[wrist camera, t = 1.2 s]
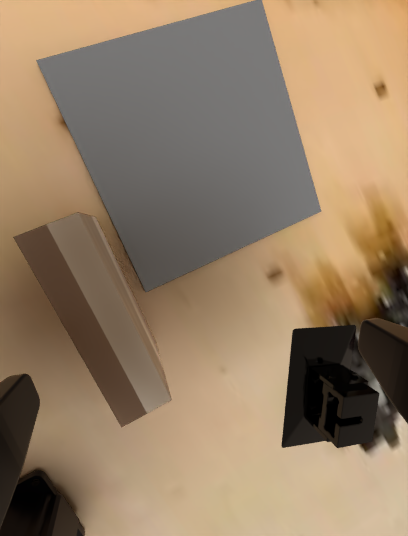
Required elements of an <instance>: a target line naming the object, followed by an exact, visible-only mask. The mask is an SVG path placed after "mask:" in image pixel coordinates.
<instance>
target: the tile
mask: <svg viewBox="0 0 408 536" xmlns="http://www.w3.org/2000/svg"><path fill="white" fill-rule="evenodd" d="M13 238H14V239H15V241H16V243H17V245H18V246H19V248H20V250H21V252H22V253H23V255H24V257H25V259H26V260H27V262H28V264H29V266H30V267H31V269H32V271H33V273H34V274H35V276H36V278H37V280H38V281H39V283H40V285H41V287H42V288H43V290H44V292H45V294H46V295H47V297H48V299H49V301H50V303H51V304H52V306H53V308H54V310H55V311H56V313H57V315H58V317H59V318H60V320H61V322H62V324H63V325H64V327H65V329H66V331H67V332H68V334H69V336H70V338H71V339H72V341H73V343H74V345H75V346H76V348H77V350H78V352H79V353H80V355H81V357H82V359H83V360H84V362H85V364H86V366H87V368H88V369H89V371H90V373H91V375H92V376H93V378H94V380H95V382H96V383H97V385H98V387H99V389H100V390H101V392H102V394H103V396H104V397H105V399H106V401H107V403H108V404H109V406H110V408H111V410H112V411H113V413H114V415H115V417H116V418H117V420H118V422H119V424H120V425H121V427H123V426H125V425H127V424H129V423H131V422H132V421H134V420H136V419H138V418H140V417H142V416H143V415H145V414H147V413H149V412H151V411H152V410H154V409H156V408H158V407H160V406H162V405H163V404H165V403H167V402H169V401H171V400H172V399H171V396H170V392H169V388H168V385H167V381H166V377H165V374H164V370H163V366H162V362H161V359H160V355H159V351H158V348H157V344H156V340H155V338H154V336H153V334H152V332H151V330H150V328H149V326H148V324H147V322H146V320H145V318H144V316H143V314H142V311H141V309H140V307H139V305H138V303H137V301H136V299H135V297H134V295H133V293H132V291H131V289H130V287H129V285H128V283H127V281H126V279H125V276H124V274H123V272H122V270H121V268H120V266H119V264H118V262H117V260H116V258H115V256H114V254H113V252H112V250H111V248H110V246H109V243H108V241H107V239H106V237H105V235H104V233H103V231H102V229H101V227H100V225H99V223H98V221H97V219H96V217H93V216H89V215H86V214H82V213H79V212H77V213H75V214H72V215H70V216H67V217H64V218H62V219H59V220H57V221H54V222H51V223H49V224H46V225H44V226H41V227H38V228H36V229H33V230H31V231H28V232H25V233H23V234H20V235H18V236H15V237H13Z"/></svg>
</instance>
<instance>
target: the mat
mask: <svg viewBox="0 0 408 536" xmlns="http://www.w3.org/2000/svg"><path fill="white" fill-rule="evenodd" d="M36 61H37V63H38V65H39V67H40V69H41V72H42V74H43V76H44V78H45V80H46V82H47V84H48V86H49V88H50V91H51V93H52V95H53V97H54V99H55V101H56V103H57V105H58V108H59V110H60V112H61V114H62V116H63V118H64V120H65V122H66V124H67V127H68V129H69V131H70V133H71V135H72V137H73V139H74V141H75V144H76V146H77V148H78V150H79V152H80V154H81V156H82V158H83V160H84V163H85V165H86V167H87V169H88V171H89V173H90V175H91V177H92V180H93V182H94V184H95V186H96V188H97V190H98V192H99V194H100V196H101V199H102V201H103V203H104V205H105V207H106V209H107V211H108V213H109V216H110V218H111V220H112V222H113V224H114V226H115V228H116V230H117V232H118V235H119V237H120V239H121V241H122V243H123V245H124V247H125V249H126V252H127V254H128V256H129V258H130V260H131V262H132V264H133V266H134V268H135V271H136V273H137V275H138V277H139V279H140V281H141V283H142V285H143V288H144V290H145V292H147V291H150V290H152V289H154V288H156V287H158V286H160V285H163V284H165V283H167V282H169V281H171V280H174V279H176V278H178V277H180V276H182V275H184V274H187V273H189V272H191V271H193V270H195V269H197V268H200V267H202V266H204V265H206V264H208V263H210V262H213V261H215V260H217V259H219V258H221V257H223V256H226V255H228V254H230V253H232V252H234V251H236V250H239V249H241V248H243V247H245V246H247V245H249V244H252V243H254V242H256V241H258V240H260V239H262V238H265V237H267V236H269V235H271V234H273V233H275V232H278V231H280V230H282V229H284V228H286V227H288V226H291V225H293V224H295V223H297V222H299V221H301V220H304V219H306V218H308V217H310V216H312V215H314V214H317V213H319V212H321V209H320V205H319V201H318V198H317V194H316V191H315V187H314V184H313V180H312V177H311V173H310V170H309V166H308V162H307V159H306V155H305V152H304V148H303V145H302V141H301V138H300V134H299V131H298V127H297V124H296V120H295V116H294V113H293V109H292V106H291V102H290V99H289V95H288V92H287V88H286V85H285V81H284V77H283V74H282V70H281V67H280V63H279V60H278V56H277V53H276V49H275V46H274V42H273V38H272V35H271V31H270V28H269V24H268V21H267V17H266V14H265V10H264V7H263V3H262V0H255V1H251V2H248V3H244V4H240V5H237V6H233V7H229V8H226V9H222V10H218V11H215V12H211V13H207V14H204V15H200V16H196V17H193V18H189V19H186V20H182V21H178V22H175V23H171V24H167V25H164V26H160V27H156V28H153V29H149V30H145V31H142V32H138V33H134V34H131V35H127V36H123V37H120V38H116V39H112V40H109V41H105V42H102V43H98V44H94V45H91V46H87V47H83V48H80V49H76V50H72V51H69V52H65V53H61V54H58V55H54V56H50V57H47V58H43V59H39V60H36Z"/></svg>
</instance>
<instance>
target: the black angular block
mask: <svg viewBox="0 0 408 536" xmlns="http://www.w3.org/2000/svg"><path fill="white" fill-rule="evenodd" d="M355 332H356V326H355V325H348V326H333V327H317V328H302V329H294V330H293V333H292V344H291V354H290V364H289V375H288V385H287V396H286V406H285V416H284V427H283V437H282V447H283V448H285V447H291V446H297V445H303V444H309V443H315V442H321V441H327V442H332V443H333V444H334V445H335V446H336V447H337V448H340V447H346V446H351V445H356V444H362V443H367V442H372V438H373V432H374V425H375V418H376V411H377V405H378V398H379V393H378V392H377V391H375V390H374V389H372V388H371V387H369V386H368V381H367V380H365V379H364V378H362V377H361V376H359V375H358V374H357V373H356V372H353V371H351V370H350V369H351V361H352V354H353V347H354V339H355Z"/></svg>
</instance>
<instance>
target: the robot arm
mask: <svg viewBox="0 0 408 536" xmlns="http://www.w3.org/2000/svg"><path fill="white" fill-rule="evenodd" d="M358 348H359V351H360V353H361V355H362V357H363V358H364V360H365V361H366V363H367V364H368V366H369V368H370V369H371V371H372V372H373V374H374V376H375V377H376V379H377V380H378V382H379V384H380V385H381V387H382V388H383V390H384V391H385V393H386V395H387V396H388V398H389V399H390V401H391V402H392V403H393V405H394V406H395V408H396V409H397V410H398V412H399V413H400V414H401V416H402V417H403V418H404V419H405V421H406V422H407V423H408V328H406V327H403V326H400V325H397V324H394V323H391V322H388V321H385V320H382V319H379V318H374V319H367V320H364V321H362V323H361V326H360V333H359V340H358ZM39 405H40V399H39V395H38V393H37V391H36V388H35V386H34V384H33V381H32V379H31V377H30V376H29V375H28V374H20V375H13V376H10V377H8V378H6V379H5V380H3V381H2V382H1V383H0V536H85V531H84V529H83V528H82V526H81V525H80V523H79V519H78V517H77V516H76V514H75V513H74V511H73V510H72V509H71V507H70V506H69V504H68V503H67V501H66V500H65V498H64V497H63V495H61V494H59V493H58V491H57V490H56V488H55V487H54V486H53V484H52V483H51V481H50V480H49V478H48V477H47V475H46V474H45V473H44V472H43V471H40V470H38V471H34V472H32V473H30V474H28V475H26V476H25V477H23V478H21V479H19V477H20V474H21V471H22V468H23V465H24V462H25V458H26V454H27V451H28V447H29V443H30V440H31V436H32V432H33V428H34V425H35V421H36V417H37V414H38V410H39ZM34 479H38V481H35V480H34Z"/></svg>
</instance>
